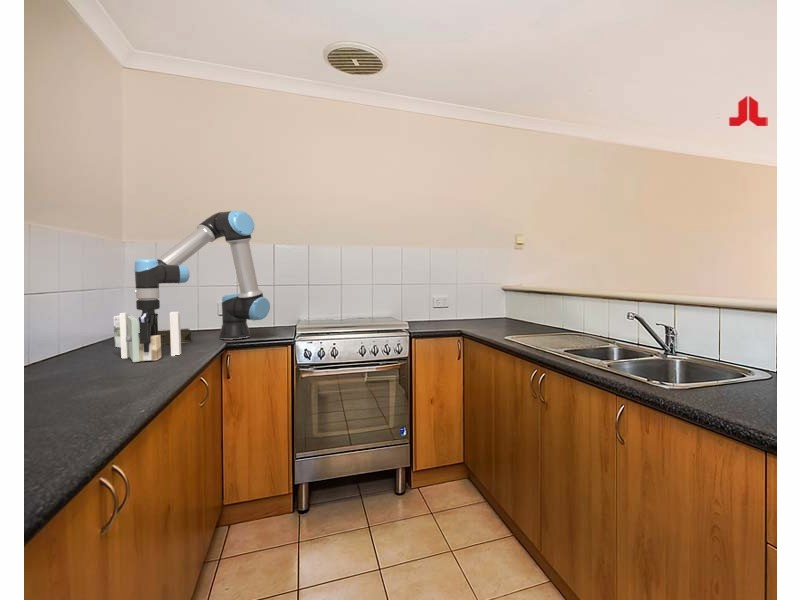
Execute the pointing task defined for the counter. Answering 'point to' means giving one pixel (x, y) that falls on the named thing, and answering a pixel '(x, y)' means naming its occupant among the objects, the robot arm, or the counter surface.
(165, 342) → the beverage carton
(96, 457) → the counter surface
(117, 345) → the syrup box
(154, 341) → the tan rectangular block
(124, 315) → the white piece
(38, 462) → the counter surface
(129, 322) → the door
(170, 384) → the counter surface
